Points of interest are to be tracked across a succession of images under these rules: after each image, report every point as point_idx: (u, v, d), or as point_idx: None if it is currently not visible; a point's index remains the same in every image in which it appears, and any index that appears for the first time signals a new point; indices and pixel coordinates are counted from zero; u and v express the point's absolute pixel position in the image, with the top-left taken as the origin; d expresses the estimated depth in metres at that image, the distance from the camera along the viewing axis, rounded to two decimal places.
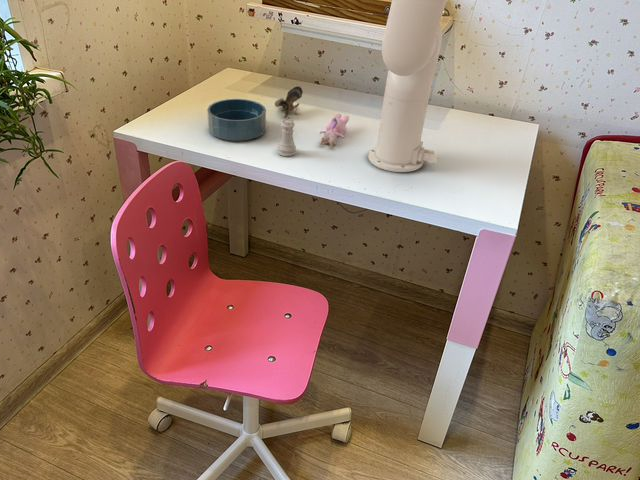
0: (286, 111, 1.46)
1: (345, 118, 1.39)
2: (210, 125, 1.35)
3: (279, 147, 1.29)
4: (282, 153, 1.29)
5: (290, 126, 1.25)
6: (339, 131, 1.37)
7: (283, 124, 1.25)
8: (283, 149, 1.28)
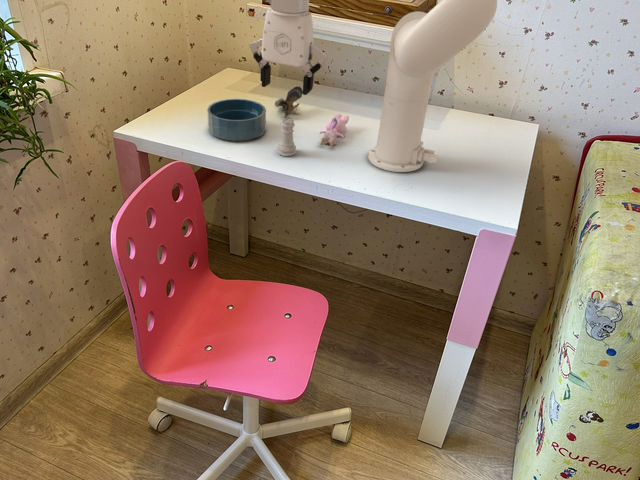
0: (286, 111, 1.46)
1: (345, 118, 1.39)
2: (210, 125, 1.35)
3: (279, 147, 1.29)
4: (282, 153, 1.29)
5: (290, 126, 1.25)
6: (339, 131, 1.37)
7: (283, 124, 1.25)
8: (283, 149, 1.28)
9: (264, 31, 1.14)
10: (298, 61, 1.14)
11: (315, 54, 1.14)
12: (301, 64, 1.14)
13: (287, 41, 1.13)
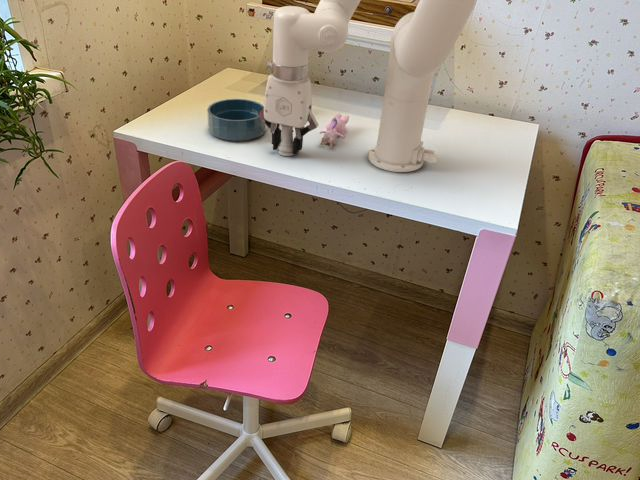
0: None
1: (345, 118, 1.39)
2: (210, 125, 1.35)
3: (279, 147, 1.29)
4: (282, 153, 1.29)
5: (290, 126, 1.25)
6: (339, 131, 1.37)
7: None
8: (283, 149, 1.28)
9: (266, 95, 1.22)
10: (298, 122, 1.22)
11: (309, 120, 1.23)
12: (301, 125, 1.22)
13: (287, 104, 1.20)
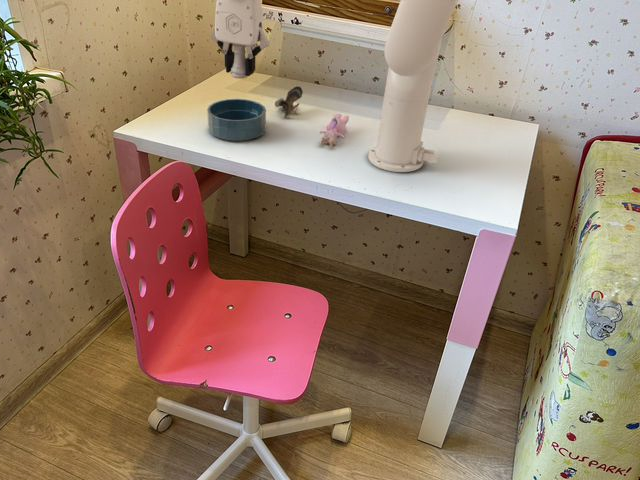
0: (286, 111, 1.46)
1: (345, 118, 1.39)
2: (210, 125, 1.35)
3: (232, 69, 1.29)
4: (235, 75, 1.29)
5: (242, 46, 1.25)
6: (339, 131, 1.37)
7: (235, 44, 1.25)
8: (236, 70, 1.28)
9: (216, 12, 1.22)
10: (248, 40, 1.22)
11: (259, 38, 1.23)
12: (251, 43, 1.22)
13: (237, 21, 1.20)
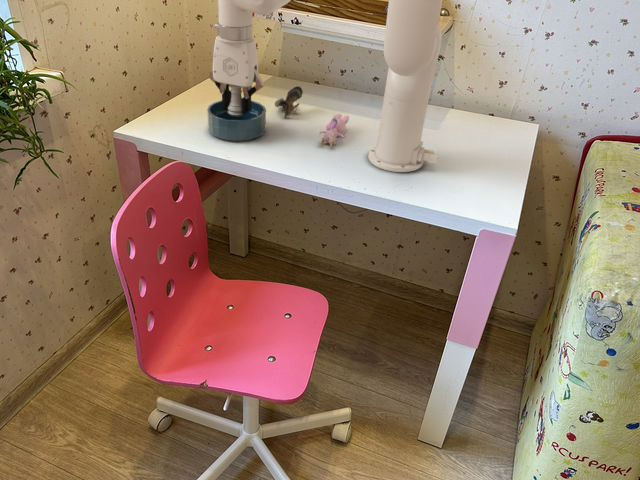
0: (286, 111, 1.46)
1: (345, 118, 1.39)
2: (210, 125, 1.35)
3: (229, 107, 1.35)
4: (232, 113, 1.35)
5: (238, 86, 1.32)
6: (339, 131, 1.37)
7: None
8: (232, 109, 1.34)
9: (214, 55, 1.28)
10: (244, 82, 1.28)
11: (255, 80, 1.29)
12: (247, 84, 1.28)
13: (234, 64, 1.27)
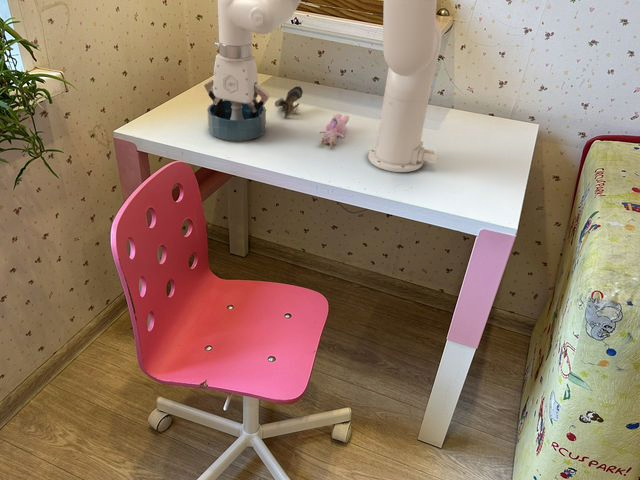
0: (286, 111, 1.46)
1: (345, 118, 1.39)
2: (210, 125, 1.35)
3: None
4: None
5: None
6: (339, 131, 1.37)
7: None
8: None
9: (214, 73, 1.30)
10: (244, 99, 1.31)
11: (259, 93, 1.31)
12: (247, 101, 1.31)
13: (234, 82, 1.29)
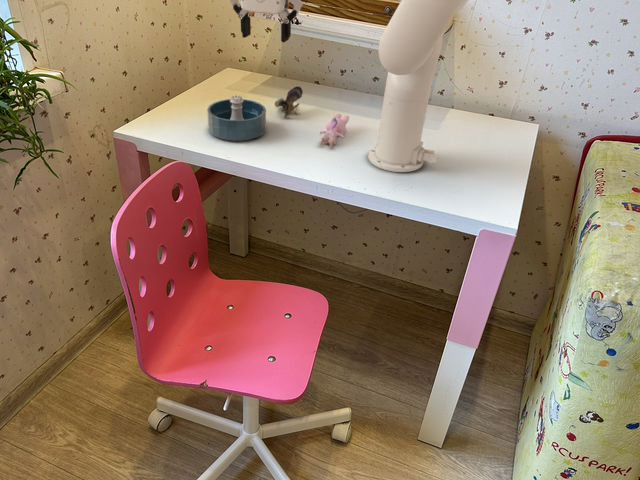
0: (286, 111, 1.46)
1: (345, 118, 1.39)
2: (210, 125, 1.35)
3: None
4: None
5: (238, 102, 1.34)
6: (339, 131, 1.37)
7: (232, 100, 1.34)
8: None
9: None
10: (275, 8, 1.21)
11: (291, 1, 1.21)
12: (278, 11, 1.21)
13: None
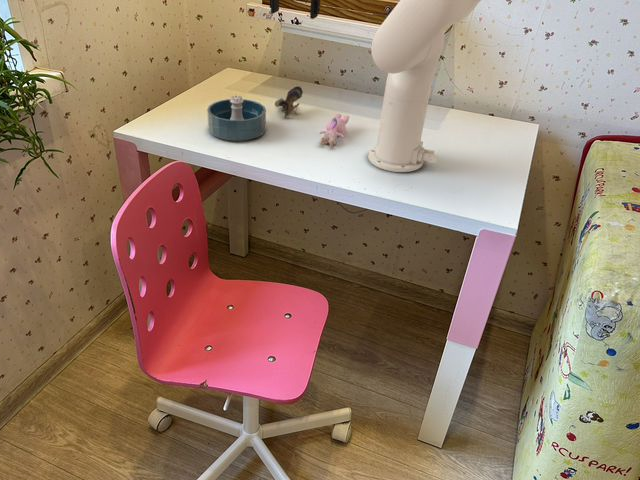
0: (286, 111, 1.46)
1: (345, 118, 1.39)
2: (210, 125, 1.35)
3: None
4: None
5: (238, 102, 1.34)
6: (339, 131, 1.37)
7: (232, 100, 1.34)
8: None
9: None
10: None
11: None
12: None
13: None
